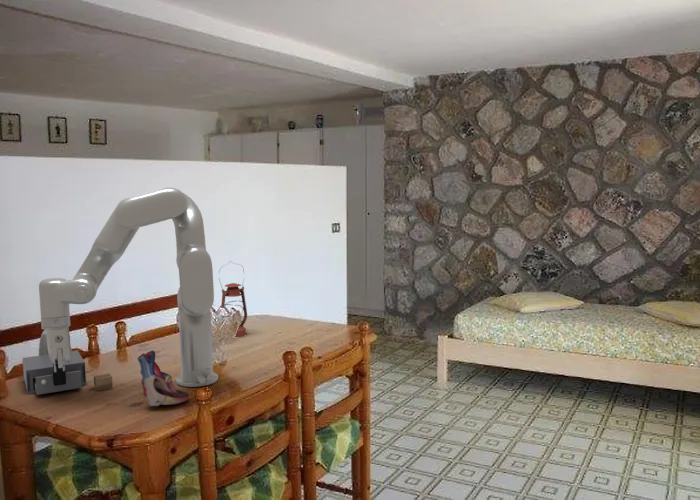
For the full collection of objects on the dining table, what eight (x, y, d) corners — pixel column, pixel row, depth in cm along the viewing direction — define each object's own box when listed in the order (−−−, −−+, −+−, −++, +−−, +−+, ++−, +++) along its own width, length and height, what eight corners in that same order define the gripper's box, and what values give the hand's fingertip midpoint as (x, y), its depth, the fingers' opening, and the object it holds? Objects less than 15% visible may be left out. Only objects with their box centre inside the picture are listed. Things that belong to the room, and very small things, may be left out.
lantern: (241, 339, 250) (238, 262, 247) (216, 338, 252) (213, 262, 249) (250, 333, 260) (247, 259, 256) (226, 332, 262) (223, 259, 258)
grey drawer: (81, 388, 189) (80, 371, 189) (36, 395, 183) (35, 378, 183) (74, 374, 203) (73, 359, 202) (32, 381, 197) (31, 365, 196)
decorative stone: (45, 373, 208) (42, 328, 206) (34, 370, 211) (31, 326, 210) (75, 365, 217) (73, 321, 216) (64, 362, 220) (62, 319, 219)
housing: (86, 384, 196) (84, 362, 195) (27, 393, 188) (26, 370, 187) (78, 371, 209) (77, 350, 209) (23, 379, 201) (22, 357, 201)
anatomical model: (185, 409, 173) (183, 355, 171) (137, 411, 172) (134, 357, 170) (191, 398, 182) (188, 346, 181) (145, 400, 181) (143, 348, 180)
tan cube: (112, 388, 192) (112, 377, 191) (96, 391, 190) (96, 379, 189) (109, 384, 196) (109, 373, 195) (94, 386, 193) (93, 375, 193)
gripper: (73, 325, 178) (77, 389, 180) (66, 315, 191) (70, 375, 193) (44, 328, 174) (48, 394, 176) (38, 318, 187) (42, 379, 189)
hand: (59, 384), depth 185 cm, fingers closed
